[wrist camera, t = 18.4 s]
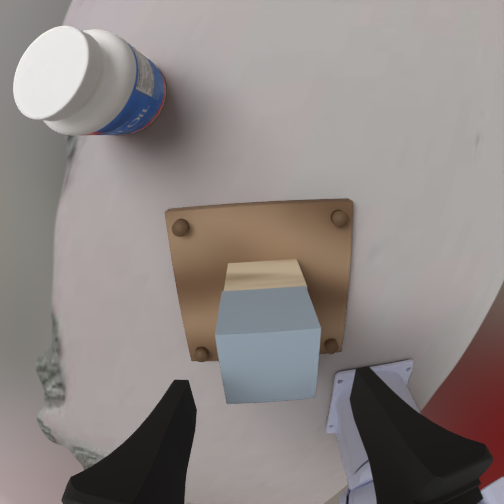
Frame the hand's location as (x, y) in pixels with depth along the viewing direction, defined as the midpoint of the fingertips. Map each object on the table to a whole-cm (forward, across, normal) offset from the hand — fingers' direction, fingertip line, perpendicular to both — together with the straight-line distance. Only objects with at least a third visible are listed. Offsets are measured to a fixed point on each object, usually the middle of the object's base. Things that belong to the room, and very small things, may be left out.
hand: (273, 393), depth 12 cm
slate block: (+5, 0, 0) cm, 5 cm away
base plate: (+10, 0, 0) cm, 10 cm away
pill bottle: (+11, +8, -14) cm, 19 cm away
